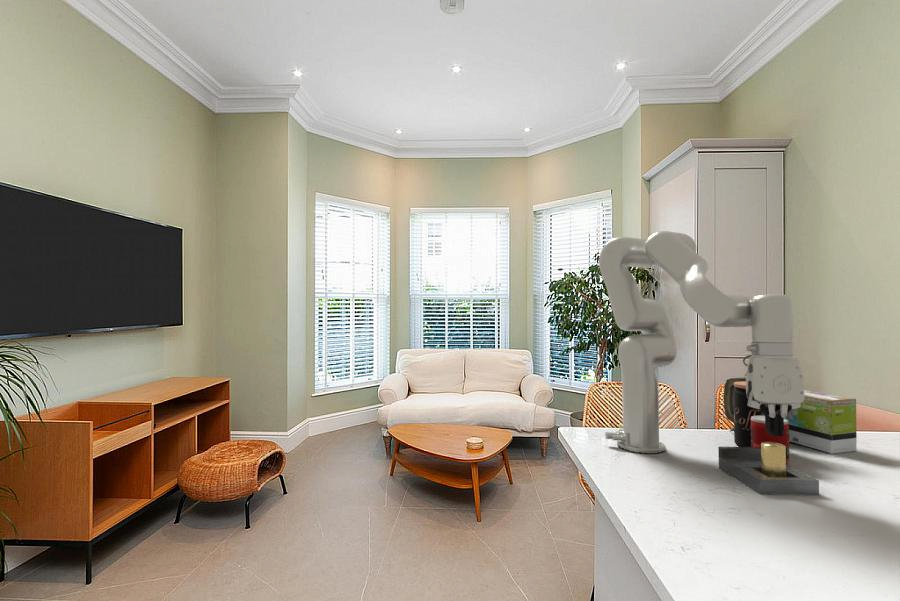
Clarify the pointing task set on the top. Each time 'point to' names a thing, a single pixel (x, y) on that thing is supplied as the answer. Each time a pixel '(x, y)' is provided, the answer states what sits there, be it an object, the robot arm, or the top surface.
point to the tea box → (824, 422)
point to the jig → (749, 472)
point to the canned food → (761, 435)
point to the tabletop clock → (731, 395)
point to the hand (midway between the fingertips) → (774, 434)
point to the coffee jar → (743, 416)
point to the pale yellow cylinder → (773, 459)
